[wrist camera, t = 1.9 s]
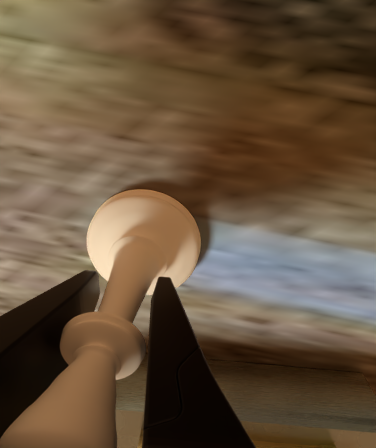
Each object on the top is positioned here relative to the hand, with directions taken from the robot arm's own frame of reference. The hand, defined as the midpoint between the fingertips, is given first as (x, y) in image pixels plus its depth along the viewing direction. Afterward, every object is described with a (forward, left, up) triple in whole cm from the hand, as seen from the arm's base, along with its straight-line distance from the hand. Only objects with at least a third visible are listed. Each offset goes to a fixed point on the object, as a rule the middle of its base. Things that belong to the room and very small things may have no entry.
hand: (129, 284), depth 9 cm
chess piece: (0, 0, -3) cm, 3 cm away
